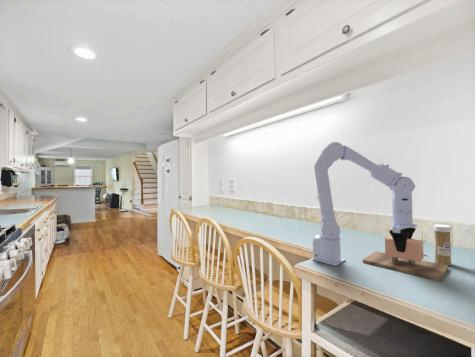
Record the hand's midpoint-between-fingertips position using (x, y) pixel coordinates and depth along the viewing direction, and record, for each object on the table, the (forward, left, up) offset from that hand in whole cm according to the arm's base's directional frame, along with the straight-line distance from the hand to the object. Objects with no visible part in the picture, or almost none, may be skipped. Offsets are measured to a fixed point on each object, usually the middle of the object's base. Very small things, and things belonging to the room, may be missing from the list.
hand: (403, 249), depth 83 cm
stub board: (0, 0, -6) cm, 6 cm away
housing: (0, 0, -2) cm, 2 cm away
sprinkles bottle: (+9, +11, -6) cm, 15 cm away
